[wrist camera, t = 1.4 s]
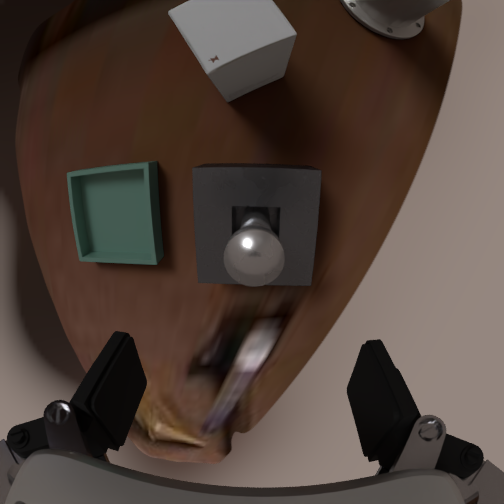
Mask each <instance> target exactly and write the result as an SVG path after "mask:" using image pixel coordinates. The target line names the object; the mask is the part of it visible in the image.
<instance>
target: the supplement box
mask: <svg viewBox="0 0 504 504" xmlns="http://www.w3.org/2000/svg"><path fill="white" fill-rule="evenodd" d="M168 13H169V15H170V17H171V18H172V20H173V21H174V23H175V25H176V26H177V28H178V29H179V31H180V33H181V34H182V36H183V37H184V39H185V41H186V42H187V44H188V45H189V47H190V48H191V50H192V52H193V53H194V55H195V56H196V58H197V59H198V61H199V63H200V64H201V66H202V67H203V69H204V71H205V72H206V74H207V75H208V77H209V78H210V79H211V81H212V82H213V83H214V85H215V86H216V87H217V89H218V90H219V91H220V93H221V94H222V96H223V97H224V98H225V100H226V101H227V102H230V101H232V100H234V99H236V98H238V97H240V96H242V95H244V94H246V93H248V92H251V91H253V90H255V89H257V88H259V87H261V86H263V85H266V84H268V83H270V82H273V81H275V80H277V79H280V78H282V77H284V74H285V71H286V67H287V64H288V61H289V57H290V54H291V51H292V48H293V44H294V41H295V38H296V35H297V33H296V32H295V30H294V29H293V27H292V26H291V24H290V23H289V22H288V20H287V19H286V18H285V16H284V15H283V14H282V12H281V11H280V10H279V8H278V7H277V6H276V4H275V3H274V2H273V1H272V0H190V1H187V2H185V3H183V4H181V5H179V6H177V7H175V8H173V9H172V10H170V11H169V12H168Z"/></svg>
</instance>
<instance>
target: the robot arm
mask: <svg viewBox="0 0 504 504" xmlns="http://www.w3.org/2000/svg"><path fill="white" fill-rule="evenodd" d="M340 1H341V3H342V4H343V6H344V7H345V9H346V10H347V11H348V12H349V13H350V14H351V15H352V16H353V17H354V18H355V19H356V20H357V21H358V22H360V23H361V24H362V25H364V26H365V27H367V28H368V29H370V30H372V31H373V32H376V33H378V34H380V35H382V36H385V37H388V38H393V39H409V38H412V37H414V36H416V35H417V34H418V33H420V32H421V30H422V29H423V26H424V16H425V15H426V14H428V13H430V12H431V11H433V10H434V9H436V8H438V7H439V6H441V5H443V4H444V3H446V2H448V1H450V0H340ZM146 386H147V380H146V376H145V374H144V371H143V368H142V365H141V362H140V359H139V356H138V352H137V349H136V346H135V343H134V339H133V338H132V337H130V335H129V333H125V332H118V331H115V332H114V333H113V335H112V336H111V338H110V339H109V341H108V342H107V344H106V345H105V347H104V348H103V350H102V351H101V353H100V354H99V356H98V357H97V359H96V360H95V362H94V363H93V365H92V366H91V368H90V369H89V371H88V373H87V374H86V376H85V378H84V379H83V381H82V382H81V384H80V386H79V387H78V389H77V391H76V393H75V394H74V396H73V398H72V399H71V401H70V403H69V402H67V401H64V400H56V401H54V402H51V403H50V404H49V405H47V407H46V408H45V411H44V417H42V418H39V419H36V420H33V421H30V422H26V423H23V424H19V425H16V426H14V427H13V428H11V430H10V431H9V433H8V435H7V440H6V441H5V440H4V439H3V440H1V441H0V504H504V472H502V471H501V470H500V469H499V468H497V467H496V466H495V465H494V464H492V463H491V462H490V461H488V460H486V461H484V460H483V459H484V457H483V452H482V450H481V449H480V448H479V447H478V446H476V445H474V444H472V443H469V442H467V441H464V440H461V439H459V438H456V437H454V436H451V435H449V434H446V426H445V424H444V423H443V421H442V420H441V419H440V418H438V417H436V416H433V415H425V416H422V417H421V415H420V413H419V411H418V408H417V406H416V404H415V402H414V400H413V398H412V395H411V393H410V391H409V389H408V387H407V385H406V383H405V381H404V379H403V377H402V375H401V373H400V371H399V370H398V369H397V368H395V366H394V364H393V362H392V360H391V358H390V356H389V354H388V352H387V350H386V348H385V346H384V344H383V342H382V341H381V340H380V339H379V340H369V341H366V343H365V344H363V345H362V347H361V349H360V352H359V355H358V358H357V361H356V364H355V367H354V370H353V373H352V376H351V378H350V381H349V383H348V386H347V395H348V399H349V402H350V406H351V409H352V413H353V416H354V420H355V424H356V427H357V431H358V435H359V439H360V443H361V447H362V451H363V454H364V456H365V457H367V456H368V460H369V462H371V461H375V460H378V461H379V465H380V468H379V469H378V471H377V473H376V475H375V476H370V477H365V478H360V479H355V480H349V481H342V482H336V483H329V484H320V485H311V486H300V487H278V488H250V487H247V488H246V487H229V486H218V485H208V484H200V483H192V482H186V481H180V480H175V479H169V478H164V477H160V476H154V475H151V474H147V473H143V472H139V471H135V470H131V469H128V468H124V467H121V466H118V465H114V464H111V463H110V462H109V460H108V457H107V455H106V452H107V449H108V448H110V449H113V450H116V451H118V450H119V447H120V446H123V445H124V443H125V440H126V437H127V435H128V432H129V429H130V427H131V424H132V422H133V419H134V416H135V414H136V411H137V409H138V406H139V404H140V401H141V399H142V396H143V394H144V391H145V389H146Z"/></svg>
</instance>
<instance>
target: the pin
mask: <svg viewBox="0 0 504 504" xmlns="http://www.w3.org/2000/svg"><path fill="white" fill-rule="evenodd" d="M284 261H285V256H284V250H283V246H282V243H281V241H280V239H279V238H278V236H277V235H276V234H275V233H274V232H273V231H272V230H271V222H270V215H269V212H268V210H267V208H266V207H256V206H248V207H247V208H246V210H245V211H244V214H243V218H242V222H241V226H240V229H239V230H237V231H236V232H235V233H234V234H233V235H232V236H231V237H230V239H229V240H228V242H227V245H226V248H225V251H224V265H225V268H226V270H227V272H228V274H229V275H230V276H231V277H232V278H233V279H234V280H235V281H237V282H239V283H241V284H243V285H246V286H253V287H254V286H262V285H266V284H268V283H270V282H272V281H273V280H275V279H276V278H277V277H278V276H279V274H280V273H281V271H282V269H283V266H284Z"/></svg>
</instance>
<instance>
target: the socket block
mask: <svg viewBox="0 0 504 504" xmlns="http://www.w3.org/2000/svg"><path fill="white" fill-rule="evenodd" d="M320 187H321V170H319V169H316V168H314V167H311V166H302V165H283V164H247V163H220V164H203V165H200V166H197V167H194V168H193V203H194V226H195V244H196V259H197V273H198V283H218V284H241V283H239V282H237V281H235V280H234V279H233V278H232V277H231V276H230V275H229V274H228V272H227V270H226V268H225V265H224V251H225V248H226V245H227V242H228V240H229V239H230V237H231V236H232V235H233V234H234V233H235V232H236V231H237V230H239V229H240V226H241V222H242V218H243V214H244V211H245V210H246V208H247V207H248V206H256V207H266V208H267V210H268V212H269V215H270V222H271V230H272V231H273V232H274V233H275V234H276V235H277V236H278V238H279V239H280V241H281V243H282V246H283V250H284V256H285V261H284V266H283V269H282V271H281V273H280V274H279V276H278V277H277V278H276V279H275V280H273V281H272V282H270V283H268V284H266V285H293V286H311V282H312V273H313V265H314V256H315V247H316V237H317V226H318V214H319V202H320Z"/></svg>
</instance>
